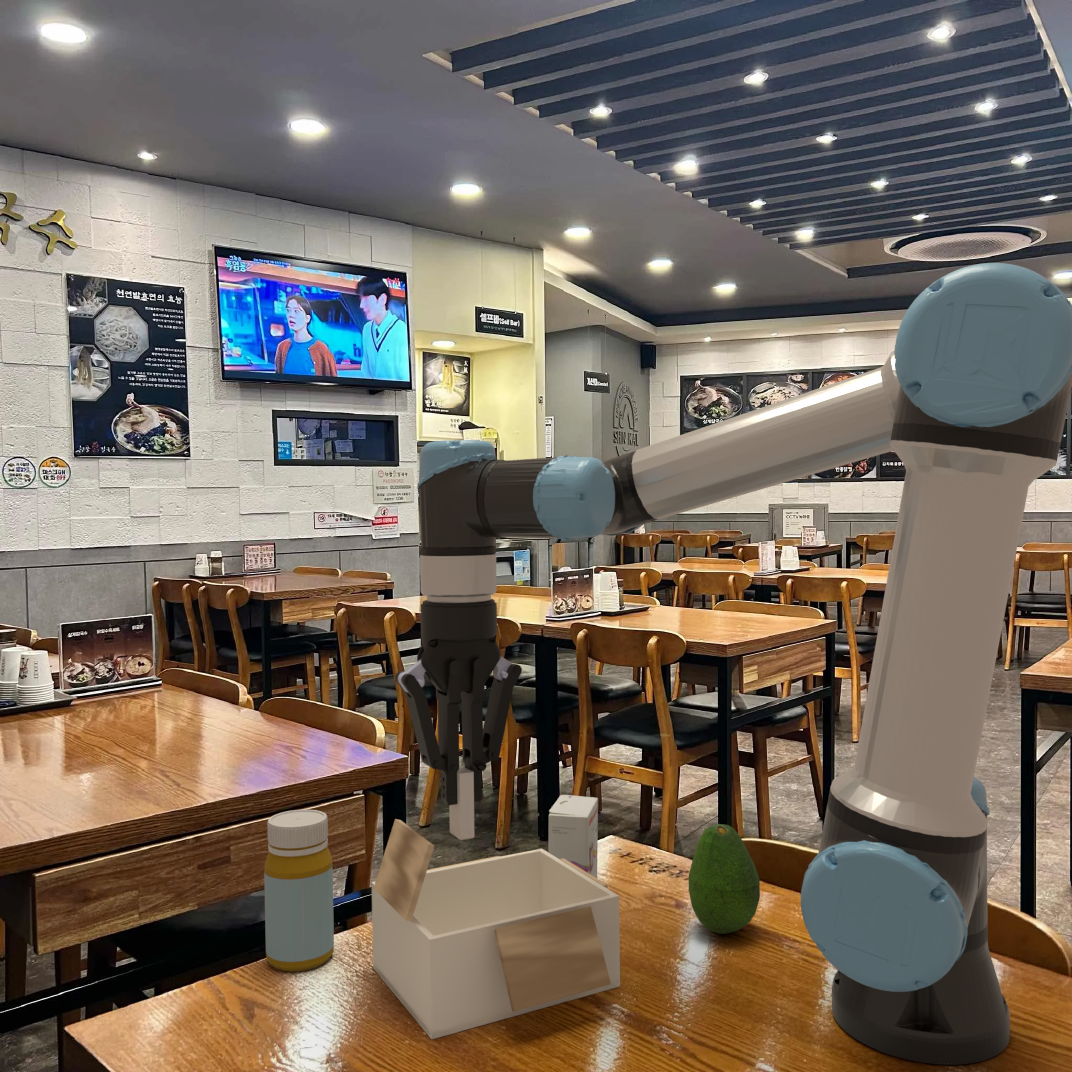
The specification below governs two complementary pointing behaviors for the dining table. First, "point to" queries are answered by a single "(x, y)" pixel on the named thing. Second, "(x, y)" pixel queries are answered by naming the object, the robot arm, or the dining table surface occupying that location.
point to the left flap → (403, 869)
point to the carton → (480, 935)
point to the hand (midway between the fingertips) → (462, 834)
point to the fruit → (723, 881)
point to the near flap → (551, 958)
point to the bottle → (298, 891)
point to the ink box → (575, 831)
